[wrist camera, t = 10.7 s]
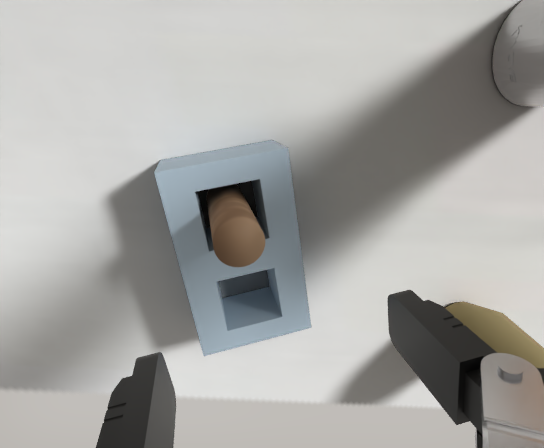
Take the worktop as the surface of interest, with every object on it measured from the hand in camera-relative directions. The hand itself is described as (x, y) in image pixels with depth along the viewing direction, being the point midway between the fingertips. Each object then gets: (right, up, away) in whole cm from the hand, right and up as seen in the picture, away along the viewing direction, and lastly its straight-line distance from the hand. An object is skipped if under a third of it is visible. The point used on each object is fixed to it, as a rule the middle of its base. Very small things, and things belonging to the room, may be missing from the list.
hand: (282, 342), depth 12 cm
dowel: (-4, +6, +17) cm, 19 cm away
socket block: (-4, +3, +19) cm, 19 cm away
